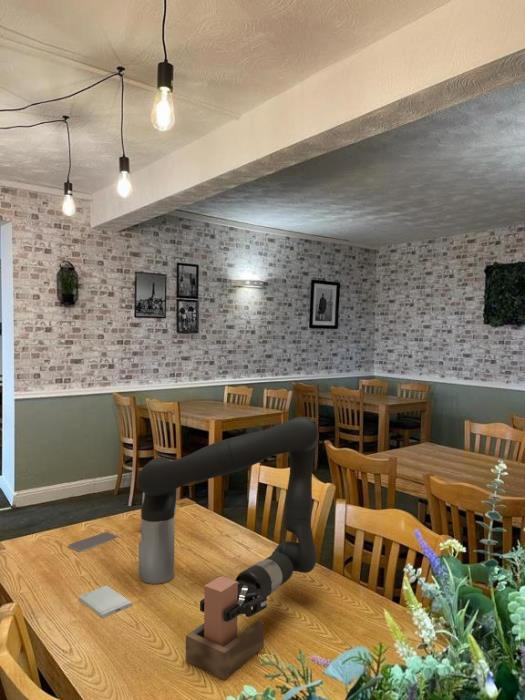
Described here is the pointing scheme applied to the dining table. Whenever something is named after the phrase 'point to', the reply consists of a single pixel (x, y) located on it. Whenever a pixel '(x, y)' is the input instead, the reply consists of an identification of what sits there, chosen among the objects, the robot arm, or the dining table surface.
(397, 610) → the dining table surface
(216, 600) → the reddish pink rectangular block
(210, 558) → the dining table surface
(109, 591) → the hard drive
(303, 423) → the robot arm
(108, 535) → the smartphone
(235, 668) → the book slot
